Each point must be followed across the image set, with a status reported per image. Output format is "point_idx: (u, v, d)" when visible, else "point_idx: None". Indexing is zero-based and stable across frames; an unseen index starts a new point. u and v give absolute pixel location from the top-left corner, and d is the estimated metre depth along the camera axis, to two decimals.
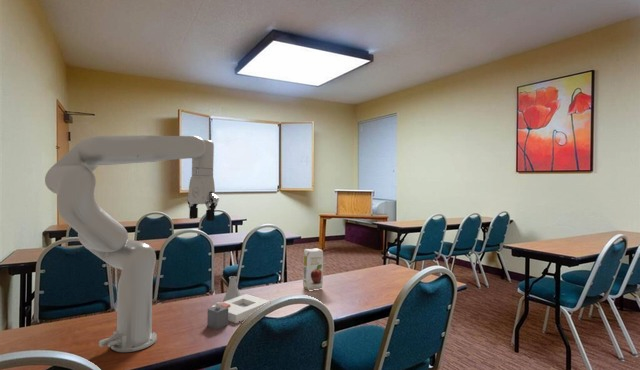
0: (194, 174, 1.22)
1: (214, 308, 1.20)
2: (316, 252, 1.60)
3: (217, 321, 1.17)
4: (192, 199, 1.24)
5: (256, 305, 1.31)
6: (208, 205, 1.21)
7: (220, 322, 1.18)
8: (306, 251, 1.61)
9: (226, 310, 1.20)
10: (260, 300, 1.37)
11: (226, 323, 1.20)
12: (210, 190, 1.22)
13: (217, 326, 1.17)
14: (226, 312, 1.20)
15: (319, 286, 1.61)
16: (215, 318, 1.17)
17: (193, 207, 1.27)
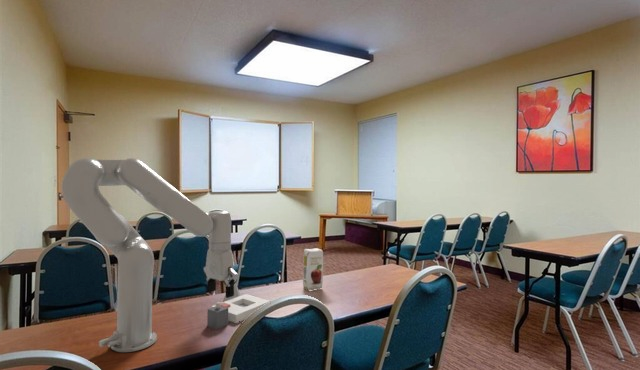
0: (212, 249, 1.17)
1: (214, 308, 1.20)
2: (316, 252, 1.60)
3: (217, 321, 1.17)
4: (210, 274, 1.19)
5: (256, 305, 1.31)
6: (227, 282, 1.16)
7: (220, 322, 1.18)
8: (306, 251, 1.61)
9: (226, 310, 1.20)
10: (260, 300, 1.37)
11: (226, 323, 1.20)
12: (229, 266, 1.17)
13: (217, 326, 1.17)
14: (226, 312, 1.20)
15: (319, 286, 1.61)
16: (215, 318, 1.17)
17: (211, 280, 1.23)
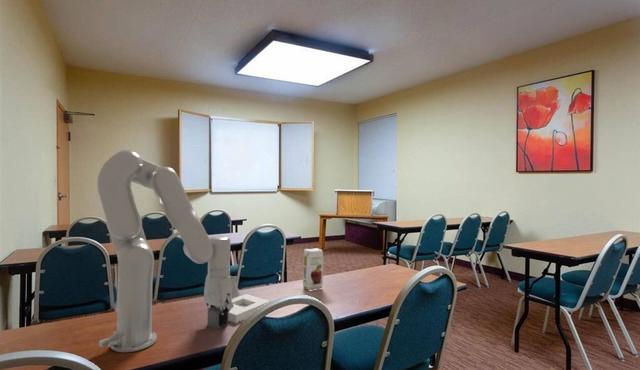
0: (210, 275, 1.17)
1: (214, 308, 1.20)
2: (316, 252, 1.60)
3: (217, 321, 1.17)
4: (208, 300, 1.19)
5: (256, 305, 1.31)
6: (222, 311, 1.17)
7: None
8: (306, 251, 1.61)
9: None
10: (260, 300, 1.37)
11: None
12: (227, 292, 1.17)
13: (217, 326, 1.17)
14: None
15: (319, 286, 1.61)
16: (216, 317, 1.17)
17: None
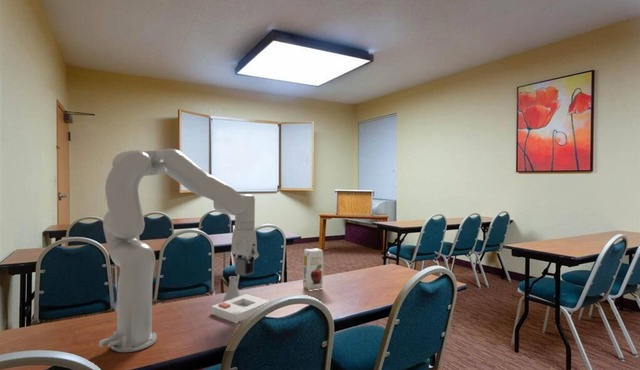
0: (238, 228, 1.30)
1: (241, 258, 1.34)
2: (316, 252, 1.60)
3: (244, 268, 1.31)
4: (235, 251, 1.32)
5: (256, 305, 1.31)
6: (248, 259, 1.30)
7: None
8: (306, 251, 1.61)
9: None
10: (260, 300, 1.37)
11: None
12: (253, 243, 1.31)
13: (244, 273, 1.31)
14: None
15: (319, 286, 1.61)
16: (243, 265, 1.31)
17: None
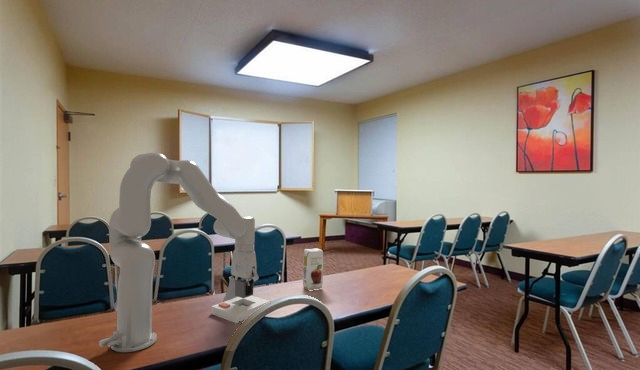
0: (238, 250, 1.31)
1: (241, 280, 1.34)
2: (316, 252, 1.60)
3: (244, 291, 1.31)
4: (235, 273, 1.33)
5: (256, 305, 1.31)
6: (248, 282, 1.31)
7: None
8: (306, 251, 1.61)
9: None
10: (260, 300, 1.37)
11: None
12: (253, 265, 1.31)
13: (244, 295, 1.31)
14: None
15: (319, 286, 1.61)
16: (243, 288, 1.31)
17: None
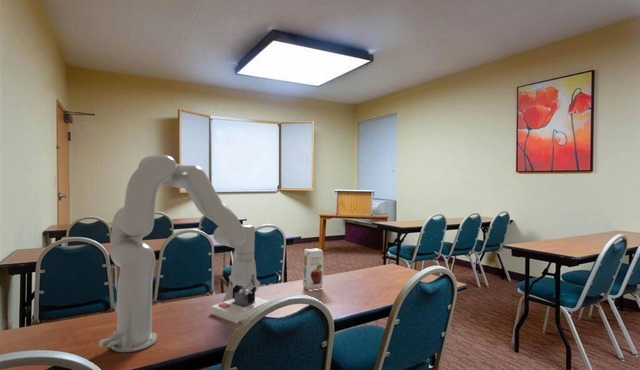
0: (238, 259, 1.31)
1: (240, 292, 1.34)
2: (316, 252, 1.60)
3: (243, 303, 1.31)
4: (235, 281, 1.33)
5: (256, 305, 1.31)
6: (250, 289, 1.30)
7: (246, 304, 1.32)
8: (306, 251, 1.61)
9: None
10: (260, 300, 1.37)
11: None
12: (252, 274, 1.31)
13: None
14: None
15: (319, 286, 1.61)
16: (242, 300, 1.31)
17: (236, 287, 1.36)
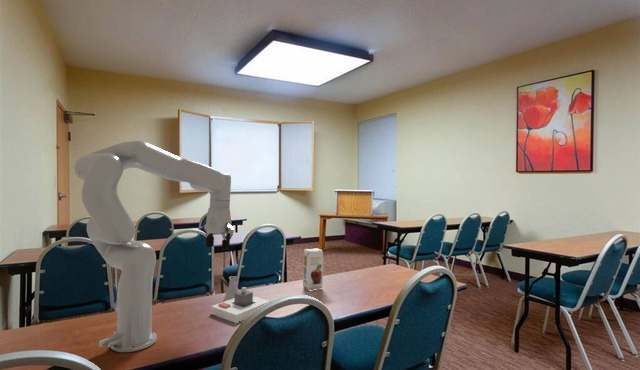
0: (212, 206, 1.29)
1: (240, 292, 1.34)
2: (316, 252, 1.60)
3: (243, 303, 1.31)
4: (209, 229, 1.31)
5: (256, 305, 1.31)
6: (224, 235, 1.28)
7: (246, 304, 1.32)
8: (306, 251, 1.61)
9: (251, 294, 1.34)
10: (260, 300, 1.37)
11: None
12: (226, 221, 1.29)
13: None
14: (251, 296, 1.34)
15: (319, 286, 1.61)
16: (242, 300, 1.31)
17: (210, 236, 1.35)
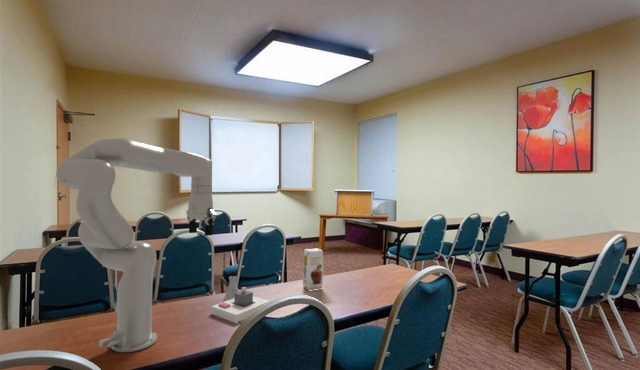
0: (193, 191, 1.29)
1: (240, 292, 1.34)
2: (316, 252, 1.60)
3: (243, 303, 1.31)
4: (191, 215, 1.31)
5: (256, 305, 1.31)
6: (207, 221, 1.28)
7: (246, 304, 1.32)
8: (306, 251, 1.61)
9: (251, 294, 1.34)
10: (260, 300, 1.37)
11: None
12: (209, 207, 1.29)
13: None
14: (251, 296, 1.34)
15: (319, 286, 1.61)
16: (242, 300, 1.31)
17: (192, 222, 1.34)
